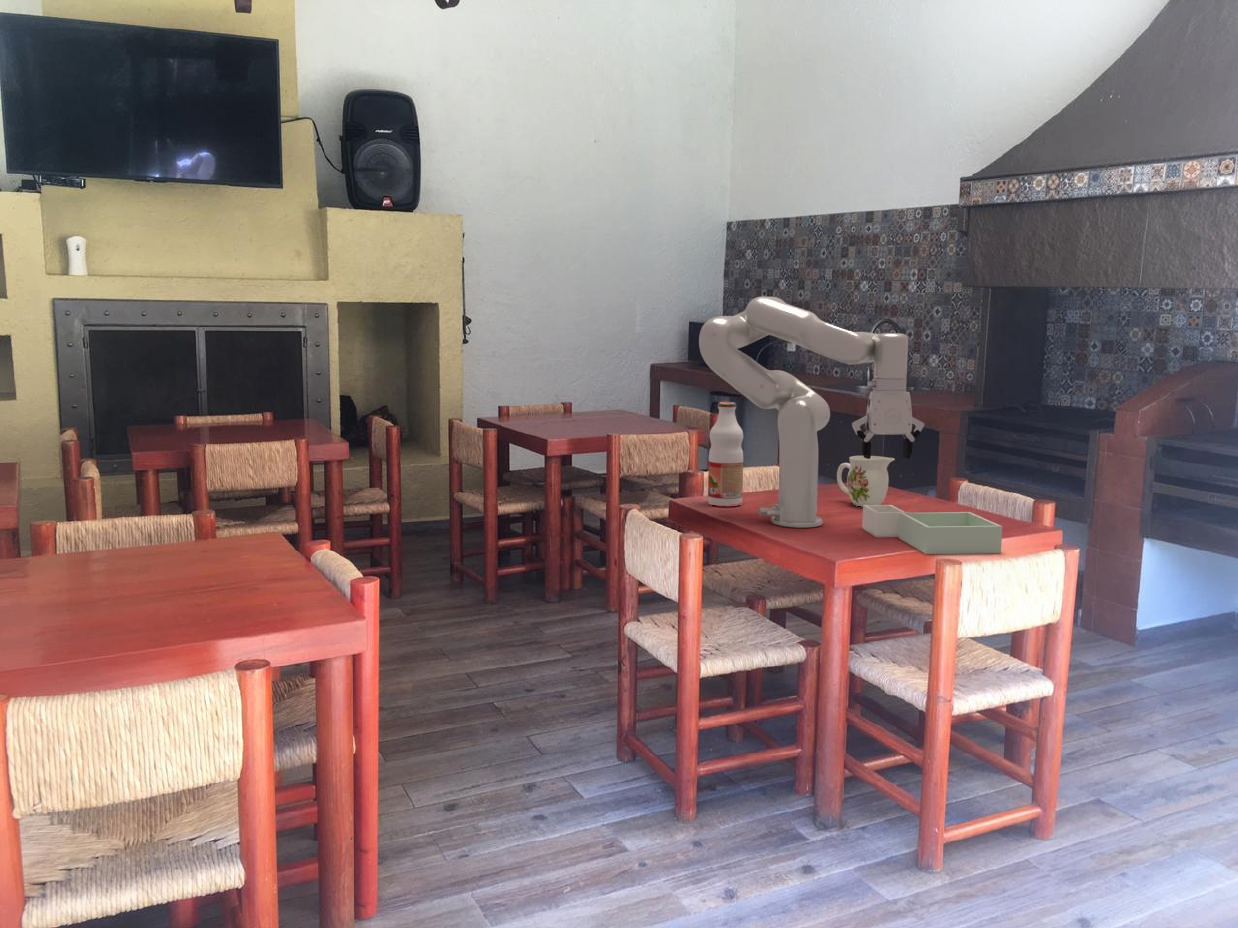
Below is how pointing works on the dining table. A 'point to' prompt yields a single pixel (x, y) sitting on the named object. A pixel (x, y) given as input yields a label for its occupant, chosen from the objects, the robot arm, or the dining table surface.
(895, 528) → the small tote
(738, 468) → the fruit juice
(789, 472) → the robot arm
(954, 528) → the big crate
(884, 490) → the pitcher
